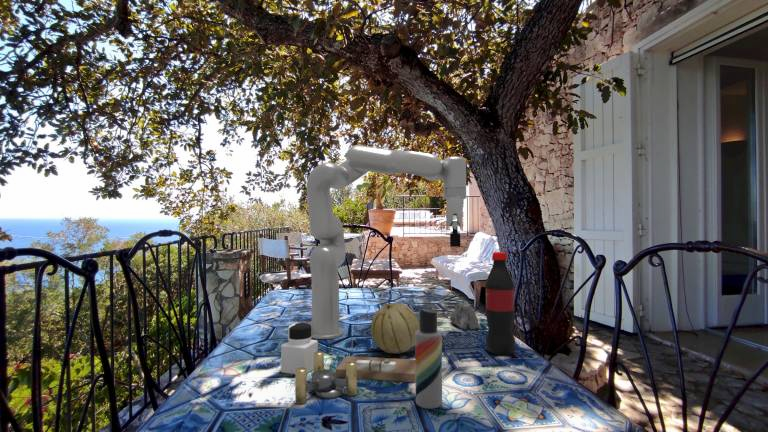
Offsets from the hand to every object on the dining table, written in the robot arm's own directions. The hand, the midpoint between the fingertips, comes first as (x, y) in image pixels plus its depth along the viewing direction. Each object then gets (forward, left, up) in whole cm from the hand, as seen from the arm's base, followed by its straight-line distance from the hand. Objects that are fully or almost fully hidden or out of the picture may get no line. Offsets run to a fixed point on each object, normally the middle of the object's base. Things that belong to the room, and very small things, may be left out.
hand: (455, 245), depth 130 cm
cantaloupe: (-18, -15, -32) cm, 39 cm away
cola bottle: (+13, -10, -31) cm, 35 cm away
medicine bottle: (-41, -33, -32) cm, 61 cm away
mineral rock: (+3, +20, -32) cm, 37 cm away
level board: (-20, -31, -31) cm, 49 cm away
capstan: (-28, -45, -31) cm, 62 cm away
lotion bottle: (-6, -47, -31) cm, 57 cm away
